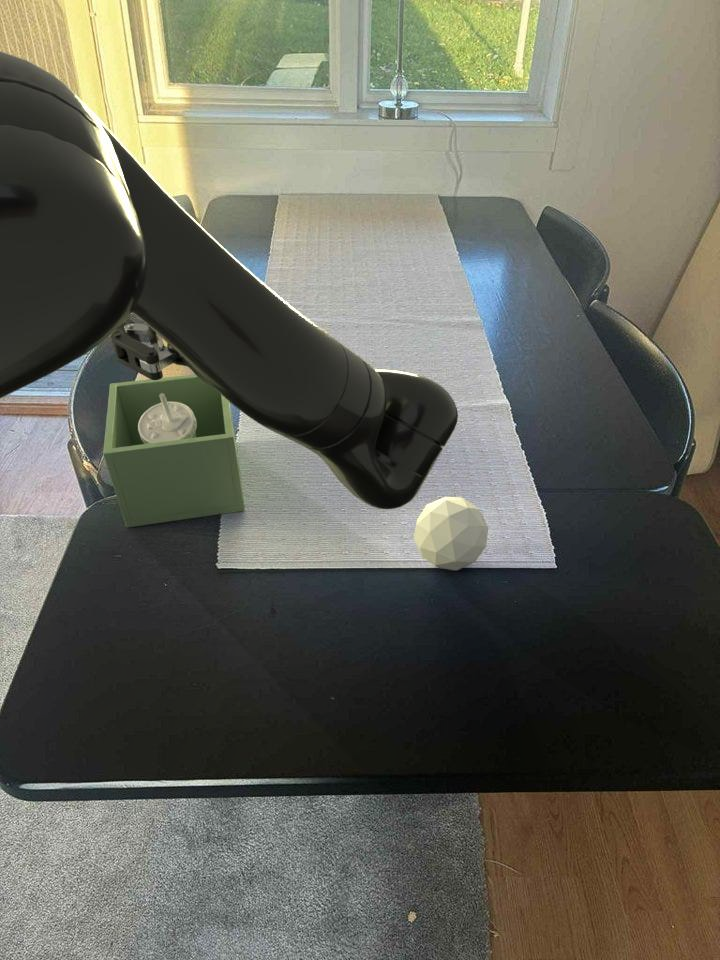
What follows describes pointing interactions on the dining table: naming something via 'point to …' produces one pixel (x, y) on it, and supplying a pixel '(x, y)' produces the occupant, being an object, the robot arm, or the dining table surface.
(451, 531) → the geometric ball
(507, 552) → the dining table surface
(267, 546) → the dining table surface
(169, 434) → the smoothie
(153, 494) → the trash bin
